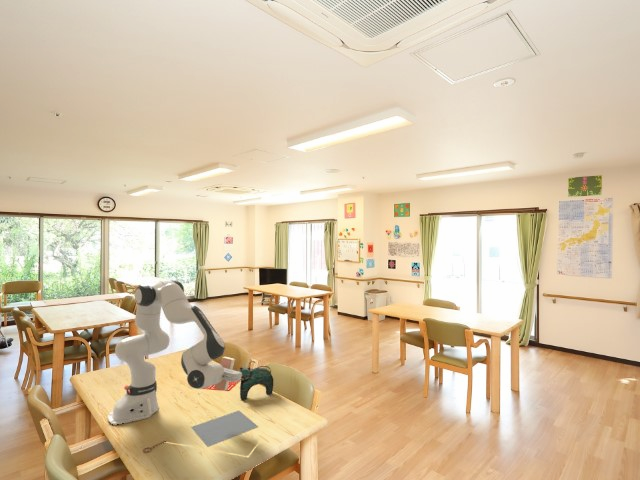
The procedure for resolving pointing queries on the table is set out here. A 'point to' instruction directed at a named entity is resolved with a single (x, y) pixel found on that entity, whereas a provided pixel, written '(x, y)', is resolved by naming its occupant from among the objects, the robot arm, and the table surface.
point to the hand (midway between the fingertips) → (226, 370)
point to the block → (228, 364)
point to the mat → (223, 428)
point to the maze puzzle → (225, 390)
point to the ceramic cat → (255, 380)
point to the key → (153, 447)
